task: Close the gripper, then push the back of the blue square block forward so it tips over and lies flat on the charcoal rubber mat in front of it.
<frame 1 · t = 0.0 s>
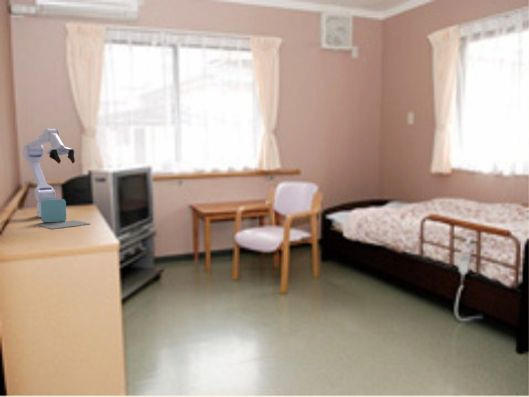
hand: (66, 162, 246), 32 cm above the table, tool tilted 50°, fingers open, 7 cm apart
mat: (64, 224, 241), on the table
blue square block: (54, 222, 248), on the table, touching mat
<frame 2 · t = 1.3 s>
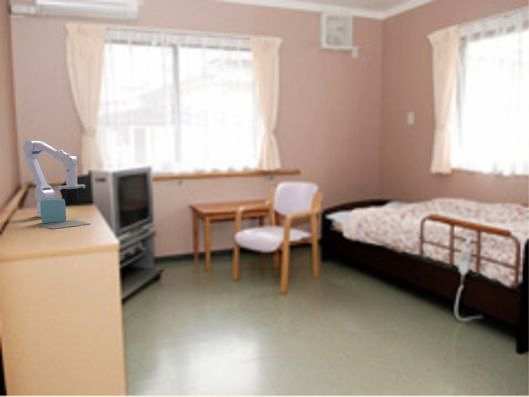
hand: (72, 201, 262), 9 cm above the table, tool pointing down, fingers open, 7 cm apart
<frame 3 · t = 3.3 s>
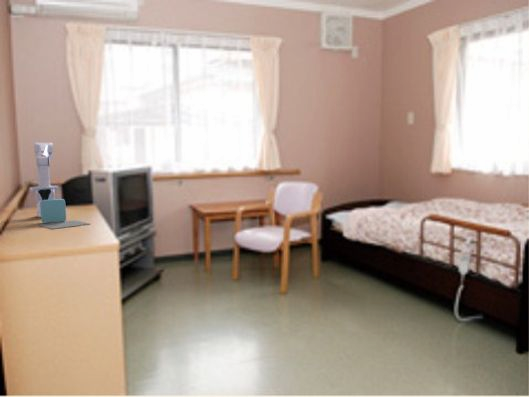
hand: (45, 203, 254), 9 cm above the table, tool pointing down, fingers closed
nothing on the table moved.
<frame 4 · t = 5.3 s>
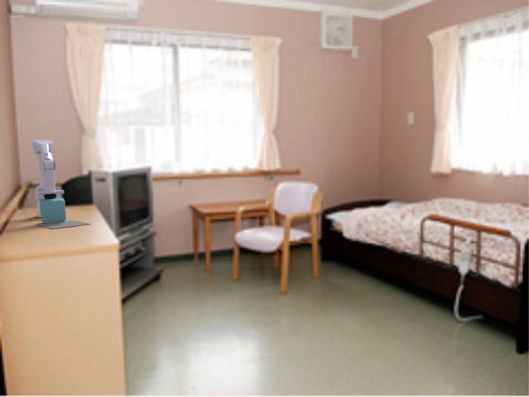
hand: (50, 207, 250), 7 cm above the table, tool pointing down, fingers closed
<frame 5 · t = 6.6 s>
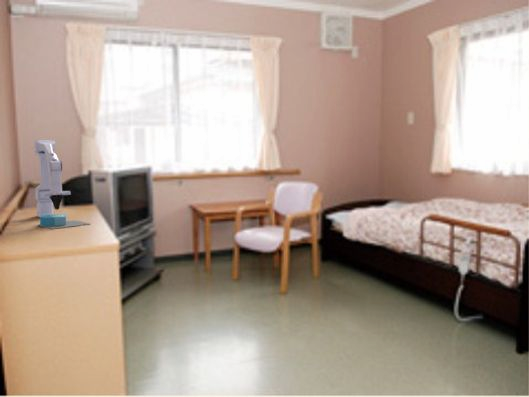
hand: (56, 209, 245), 7 cm above the table, tool pointing down, fingers closed
blue square block: (53, 218, 246), point 3 cm above the table, touching mat
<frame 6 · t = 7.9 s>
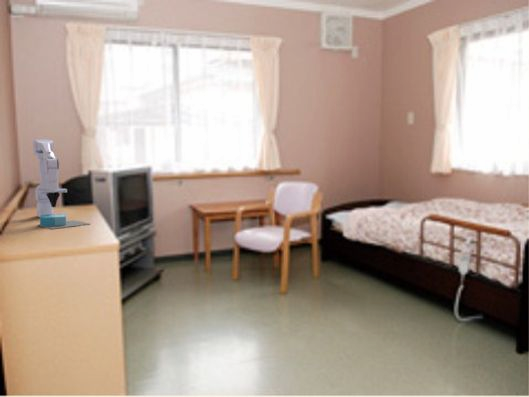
hand: (53, 206, 247), 8 cm above the table, tool pointing down, fingers closed
nothing on the table moved.
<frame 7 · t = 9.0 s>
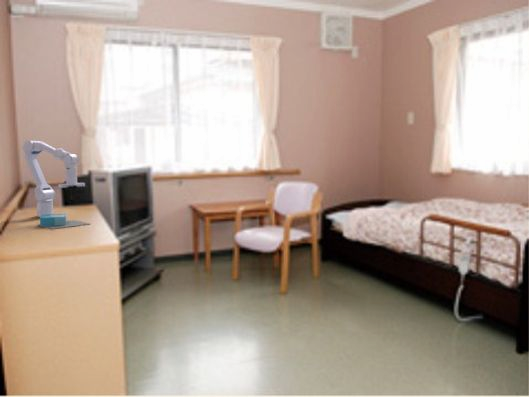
hand: (72, 199, 262), 10 cm above the table, tool pointing down, fingers closed
nothing on the table moved.
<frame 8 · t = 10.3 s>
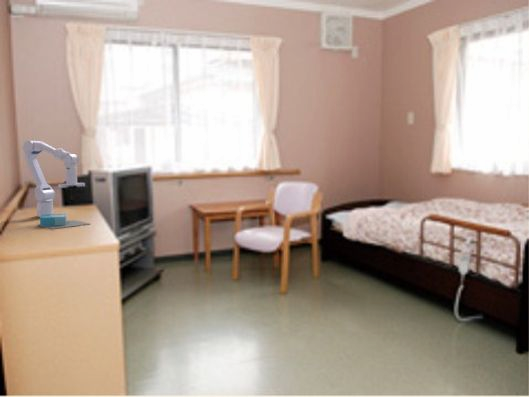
hand: (72, 199, 262), 10 cm above the table, tool pointing down, fingers closed
nothing on the table moved.
at the end: blue square block tilted 90°; blue square block inside the target area (1.8 cm from its centre), point 2.7 cm above the table; blue square block touching mat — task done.
